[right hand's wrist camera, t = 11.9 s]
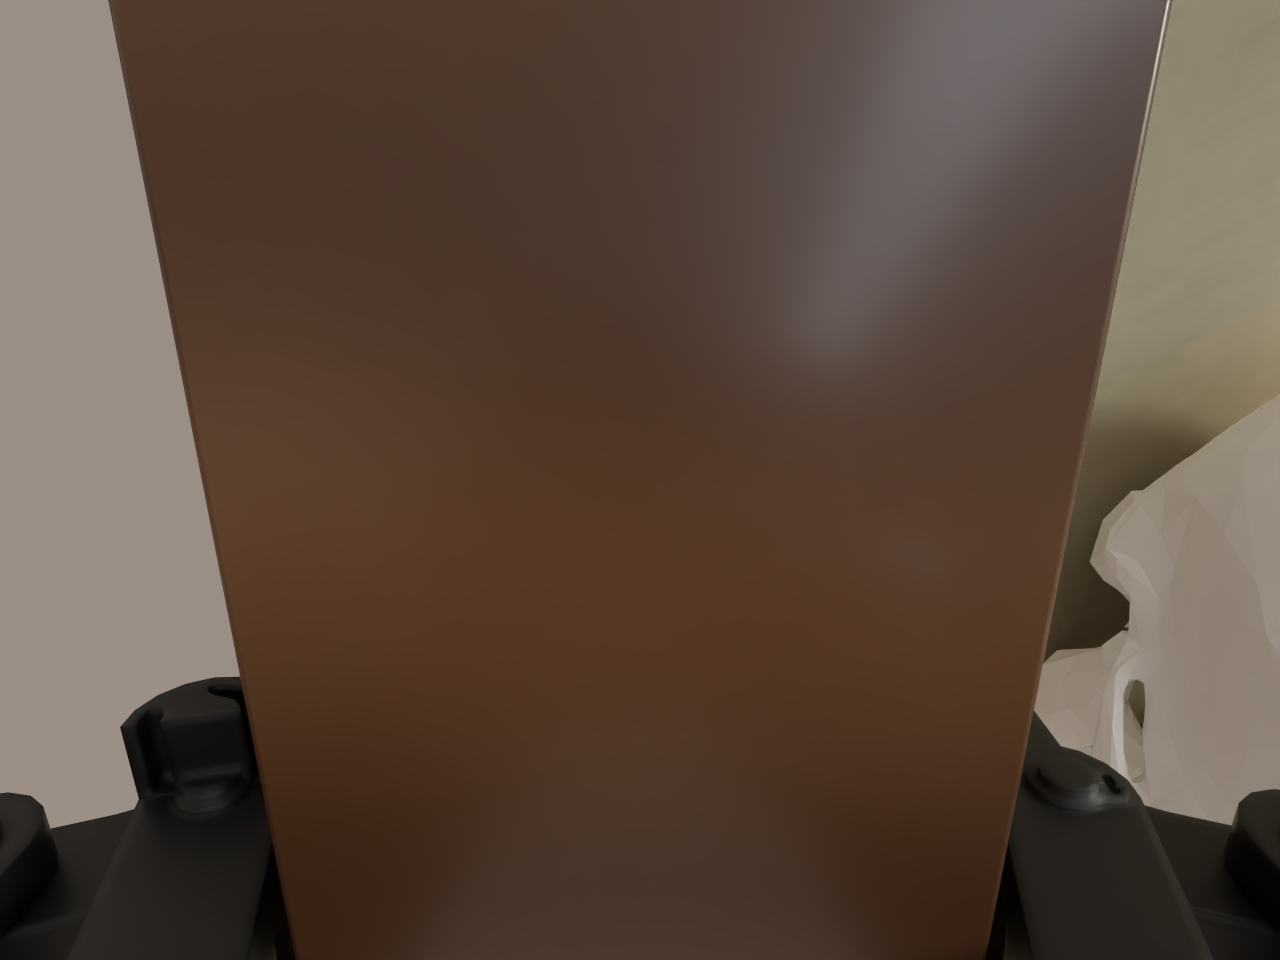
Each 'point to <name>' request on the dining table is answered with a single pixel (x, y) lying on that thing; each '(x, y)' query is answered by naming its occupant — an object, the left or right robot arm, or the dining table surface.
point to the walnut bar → (640, 445)
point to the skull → (1187, 632)
